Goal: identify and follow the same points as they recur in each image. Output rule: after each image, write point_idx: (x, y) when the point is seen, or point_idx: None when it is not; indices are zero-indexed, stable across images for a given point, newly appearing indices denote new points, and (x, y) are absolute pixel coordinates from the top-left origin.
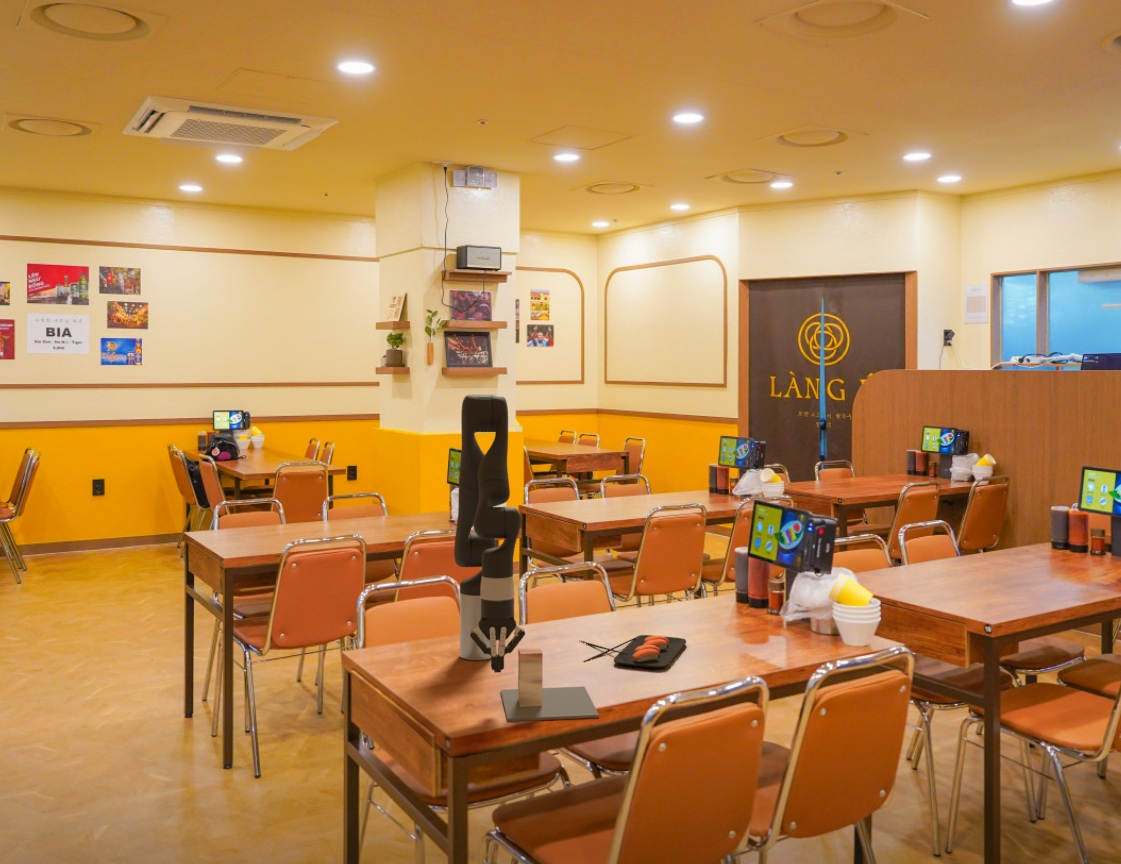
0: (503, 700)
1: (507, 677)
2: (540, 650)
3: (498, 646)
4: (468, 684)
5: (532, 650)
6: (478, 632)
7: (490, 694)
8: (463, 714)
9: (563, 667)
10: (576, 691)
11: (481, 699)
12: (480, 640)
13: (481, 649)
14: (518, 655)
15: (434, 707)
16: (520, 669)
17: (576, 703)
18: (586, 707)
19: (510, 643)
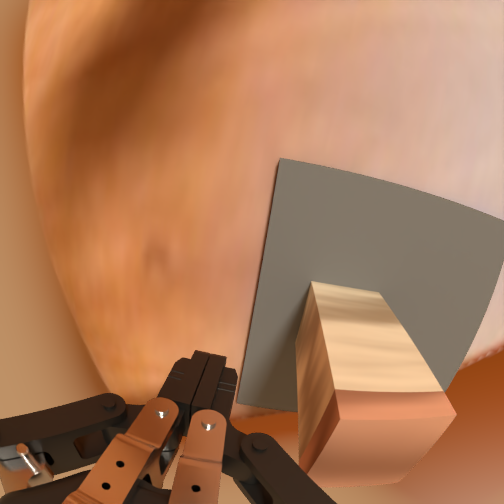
0: (260, 278)
1: (338, 18)
2: (416, 461)
3: (186, 440)
4: (189, 52)
5: (384, 461)
6: (32, 485)
7: (238, 171)
8: (137, 323)
9: (494, 28)
10: (485, 259)
11: (198, 215)
12: (66, 471)
13: (92, 439)
14: (329, 398)
15: (74, 248)
16: (299, 429)
17: (439, 350)
18: (439, 377)
19: (266, 479)
